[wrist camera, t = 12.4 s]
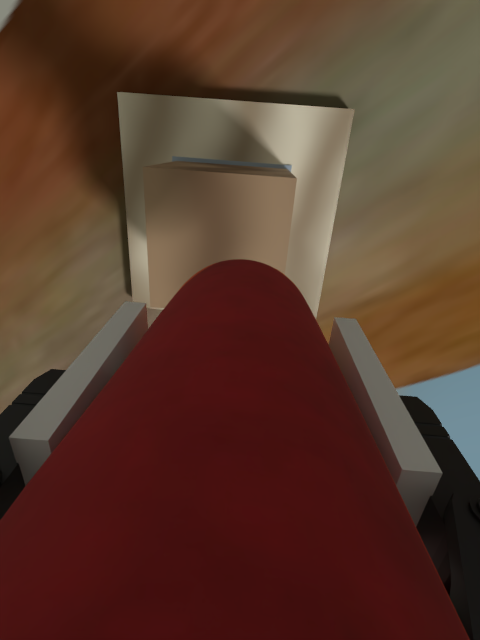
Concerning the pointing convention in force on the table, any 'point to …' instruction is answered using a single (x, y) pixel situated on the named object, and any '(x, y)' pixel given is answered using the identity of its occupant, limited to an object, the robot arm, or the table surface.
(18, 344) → the table surface
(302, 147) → the blueprint plate
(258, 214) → the walnut block
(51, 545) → the paper cup
